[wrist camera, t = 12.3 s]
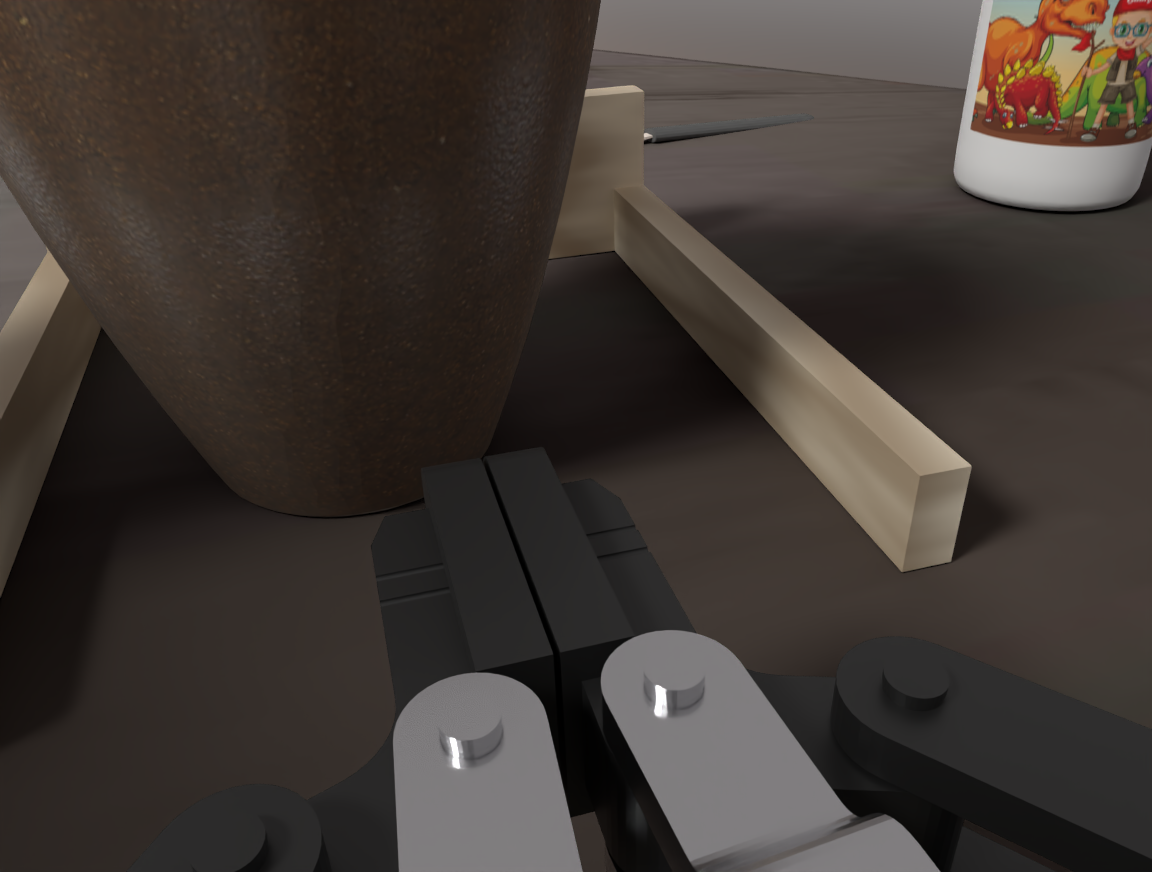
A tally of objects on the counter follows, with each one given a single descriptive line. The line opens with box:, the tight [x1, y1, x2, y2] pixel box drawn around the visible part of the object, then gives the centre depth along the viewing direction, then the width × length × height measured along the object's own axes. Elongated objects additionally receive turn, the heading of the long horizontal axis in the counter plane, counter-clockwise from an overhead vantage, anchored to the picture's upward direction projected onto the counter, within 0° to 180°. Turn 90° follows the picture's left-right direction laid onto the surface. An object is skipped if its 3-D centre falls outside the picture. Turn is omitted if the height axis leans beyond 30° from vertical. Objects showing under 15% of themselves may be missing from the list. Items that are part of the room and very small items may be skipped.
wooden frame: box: [0, 85, 972, 598], centre depth 26 cm, size 21×22×6 cm
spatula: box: [644, 114, 814, 142], centre depth 51 cm, size 6×29×2 cm, turn 116°
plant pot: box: [0, 0, 601, 517], centre depth 22 cm, size 15×15×16 cm
